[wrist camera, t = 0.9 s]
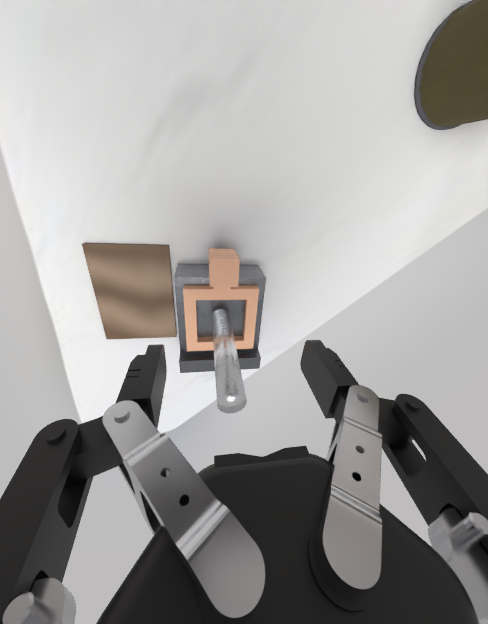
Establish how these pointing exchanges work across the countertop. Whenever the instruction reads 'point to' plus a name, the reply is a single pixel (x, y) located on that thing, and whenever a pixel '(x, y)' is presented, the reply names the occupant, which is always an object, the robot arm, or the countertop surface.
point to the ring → (221, 288)
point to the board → (132, 289)
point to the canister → (455, 70)
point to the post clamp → (220, 333)
